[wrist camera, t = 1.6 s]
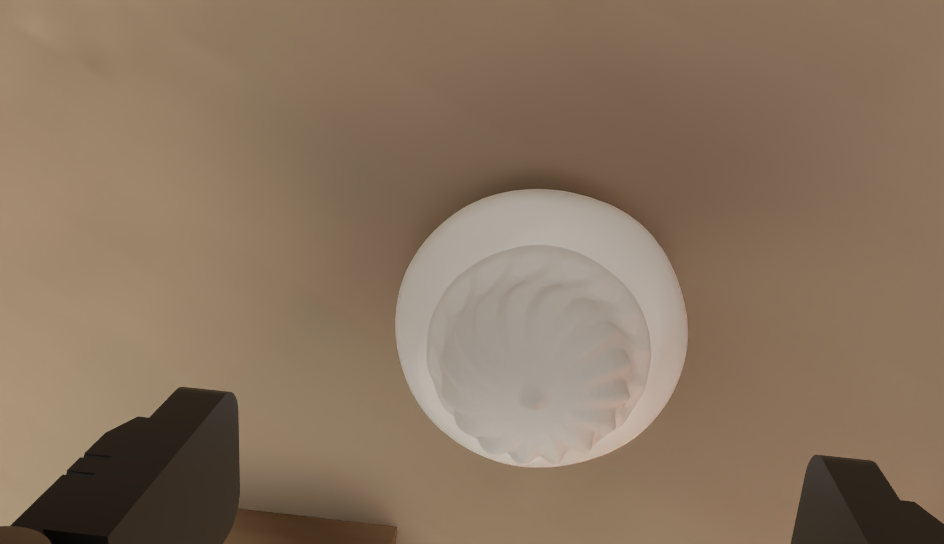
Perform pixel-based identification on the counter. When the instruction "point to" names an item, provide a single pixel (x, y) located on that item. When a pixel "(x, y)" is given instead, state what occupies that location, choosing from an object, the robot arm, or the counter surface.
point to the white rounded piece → (541, 328)
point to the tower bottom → (304, 530)
